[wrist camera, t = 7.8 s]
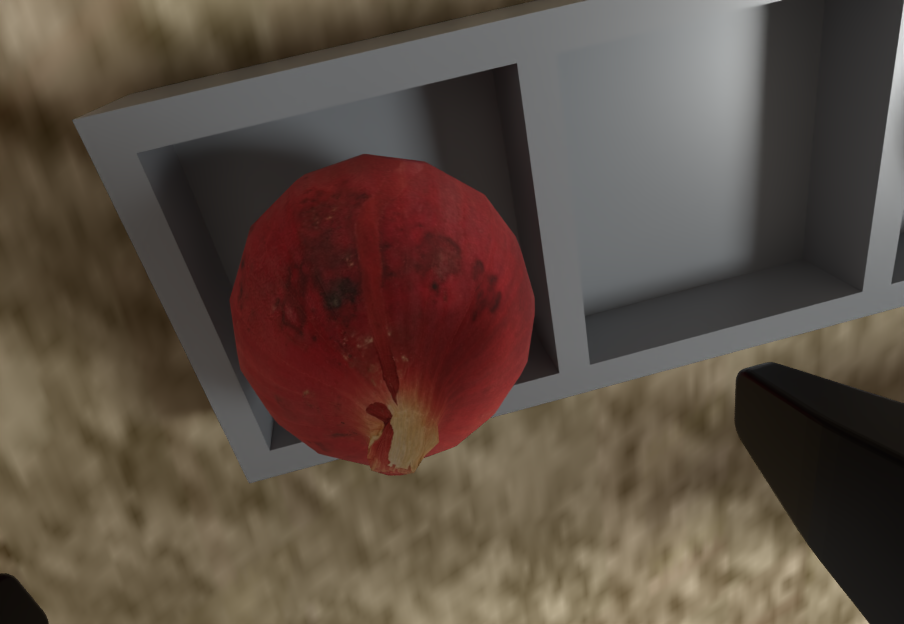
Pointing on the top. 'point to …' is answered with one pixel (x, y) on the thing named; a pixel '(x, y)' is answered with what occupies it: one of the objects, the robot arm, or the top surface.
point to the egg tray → (554, 177)
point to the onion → (382, 311)
